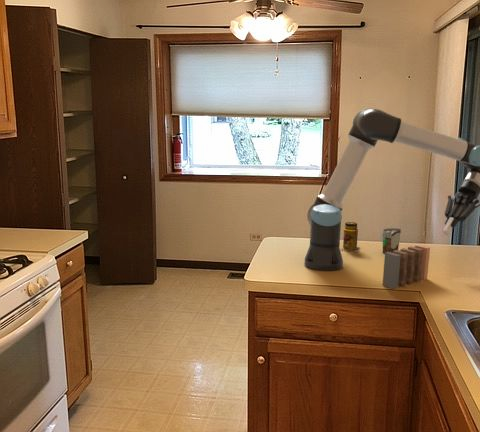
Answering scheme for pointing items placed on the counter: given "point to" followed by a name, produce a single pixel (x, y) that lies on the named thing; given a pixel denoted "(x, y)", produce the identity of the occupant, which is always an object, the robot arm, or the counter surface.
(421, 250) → the domino
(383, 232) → the food container
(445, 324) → the counter surface
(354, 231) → the condiment
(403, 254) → the domino
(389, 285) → the domino
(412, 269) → the domino
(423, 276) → the domino
